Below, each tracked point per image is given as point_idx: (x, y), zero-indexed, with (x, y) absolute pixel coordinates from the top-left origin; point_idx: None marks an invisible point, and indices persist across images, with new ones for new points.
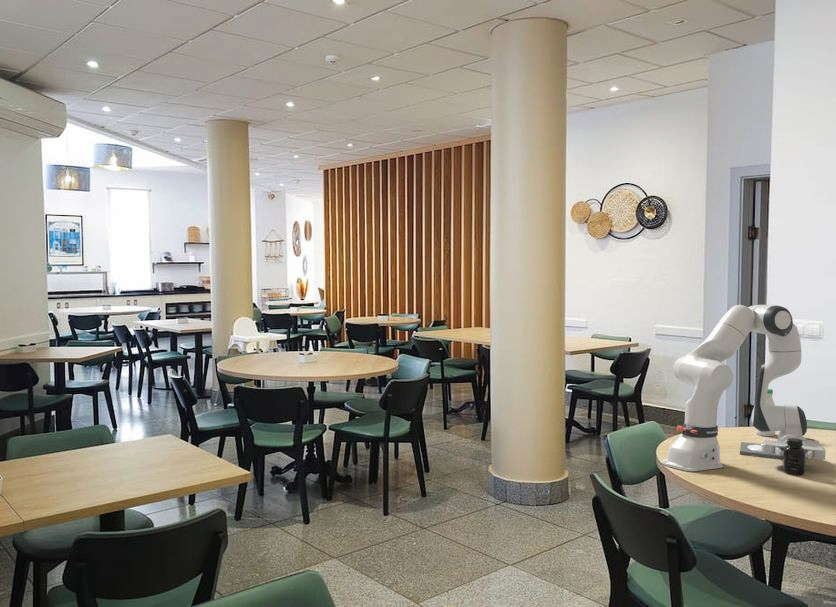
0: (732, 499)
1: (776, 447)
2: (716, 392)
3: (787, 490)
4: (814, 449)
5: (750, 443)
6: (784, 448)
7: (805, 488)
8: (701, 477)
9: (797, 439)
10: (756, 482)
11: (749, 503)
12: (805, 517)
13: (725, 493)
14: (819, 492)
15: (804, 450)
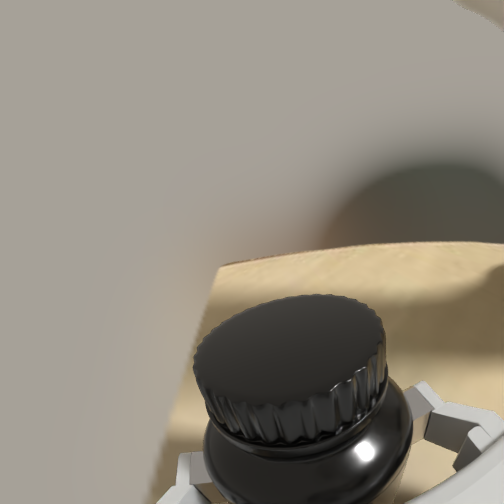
0: (355, 246)
1: (500, 430)
2: (482, 15)
3: None
4: None
5: None
6: (389, 377)
7: None
8: (472, 258)
9: (253, 363)
10: (383, 309)
11: (327, 250)
12: (246, 263)
13: (379, 249)
14: None
15: (209, 420)
